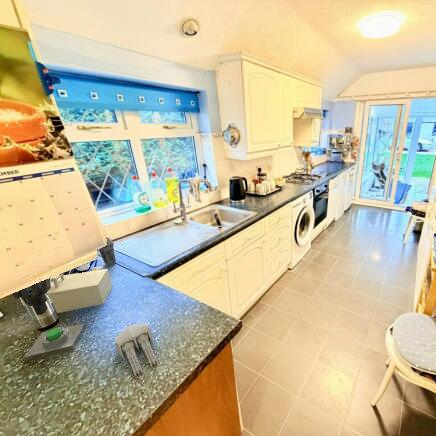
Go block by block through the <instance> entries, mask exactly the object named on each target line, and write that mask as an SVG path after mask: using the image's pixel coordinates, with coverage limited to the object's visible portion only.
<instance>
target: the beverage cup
mask: <svg viewBox="0 0 436 436" xmlns="http://www.w3.org/2000/svg"><path fill="white" fill-rule="evenodd" d="M105 237H106V236H105ZM106 239H107V245H106V246H105V247H103V248H101V249H99V250H98V251H99V252H98V253H99V254H100V255H101V258H102V260H103V262H104V264H105V266H107V267H111V266H114V265H115V264H116V263H117V261H116V254H115V248H114V241H113V240H112V239H111V238H110V237H106Z"/></svg>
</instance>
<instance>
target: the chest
mask: <svg viewBox="0 0 436 436" xmlns="http://www.w3.org/2000/svg"><path fill="white" fill-rule="evenodd" d="M113 287H114V285H113V282H112V279H111V275H110V271H109V270H108V271H107V272H106V274H105V276H104V277H103V279H102V281H101V282H100V284H99V286H98V287H92V288H87V289H81V290H75V291H69V292H63V293H57V294H51V295H48V296H49V298H50V301H51V303H52V305H53V307H54V310H55V312H56V314H60V313H65V312H70V311H74V310H76V311H77V310H81V309H84V308H85V309H86V308H90V307H94V306H101V305H105V304H106V303H105V302H107V299H108V297H109V296H110V293H111V291H112V289H113Z"/></svg>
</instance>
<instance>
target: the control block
mask: <svg viewBox="0 0 436 436" xmlns="http://www.w3.org/2000/svg"><path fill="white" fill-rule="evenodd" d="M59 328H60V329H61V331H62V335H60V336H59V337H58V338H56V339H53V340H48V339H47V337H46V333H47V332H48V331H43V332H41V334H40V335H39V336H38V338H37V339H36V341H34V343H33V344H32V346H31V347H30V348H29V349H28V351H27V352H26V353H25V355H24V356H23V358H24V360H25V362H26V363H28V362H33V361H37V360H41V359H44V358H48V357H52V356H56V355H61V354H65V353H69V352H72V351H75V349H76V348H77V346H78V344H79V342H80V340H81V338H82V336H83V335H84V333H85V330H86V329H87V327H86V325H85V323H81V324H80V323H79V324H76V325H71V326H67V327H64V326H61V327H59Z"/></svg>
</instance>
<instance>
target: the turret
mask: <svg viewBox="0 0 436 436" xmlns="http://www.w3.org/2000/svg"><path fill="white" fill-rule="evenodd" d="M113 341H114V345H115V348H116V351H117V353H118V355H119V356H120V357H121V358H122V360H123V361H124V362H125V357H126V358H127V361H128V362H129V365H130V367H131V370H132V372H133V374H134V377H135V378H138V377H137V375H138V376H139V375H140V373H141V374H143V373H144V372H143V369H142V366H141V363H140V361H139V359H138V356H137V352H136V351H137V350H138V351H139V350H140V349H142V351H143V353H144V354H145V356H146V358H147V361H148V364H149V365H150V367H151V368H153V366H156V365H159V361H158V359H157V356H156V355H155V353H154V350H153V348H152V345H153V346H154V339H153V333H152V331H151V328H150V326H149V324H148V323H146V322H143V323H138V324H131V325H127V326H126V327H125V328H124V329H123V330H121V332H120V333H118V335H116V336H115V337H114V338H113ZM151 344H152V345H151ZM139 348H140V349H139ZM136 349H137V350H136ZM124 356H125V357H124Z"/></svg>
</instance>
